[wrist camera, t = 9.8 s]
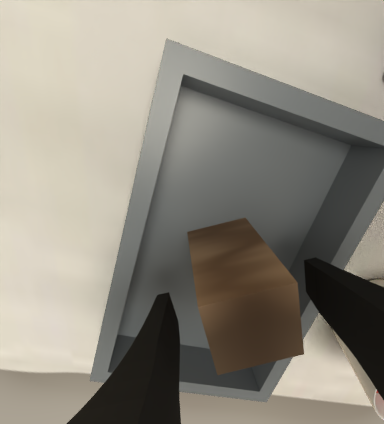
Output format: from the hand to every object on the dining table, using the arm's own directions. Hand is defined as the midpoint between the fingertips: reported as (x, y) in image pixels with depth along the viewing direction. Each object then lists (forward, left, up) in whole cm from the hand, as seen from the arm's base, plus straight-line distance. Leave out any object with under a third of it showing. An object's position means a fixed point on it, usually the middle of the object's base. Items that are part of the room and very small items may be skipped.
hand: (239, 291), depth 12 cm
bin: (0, 0, -6) cm, 6 cm away
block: (0, 0, -4) cm, 4 cm away
